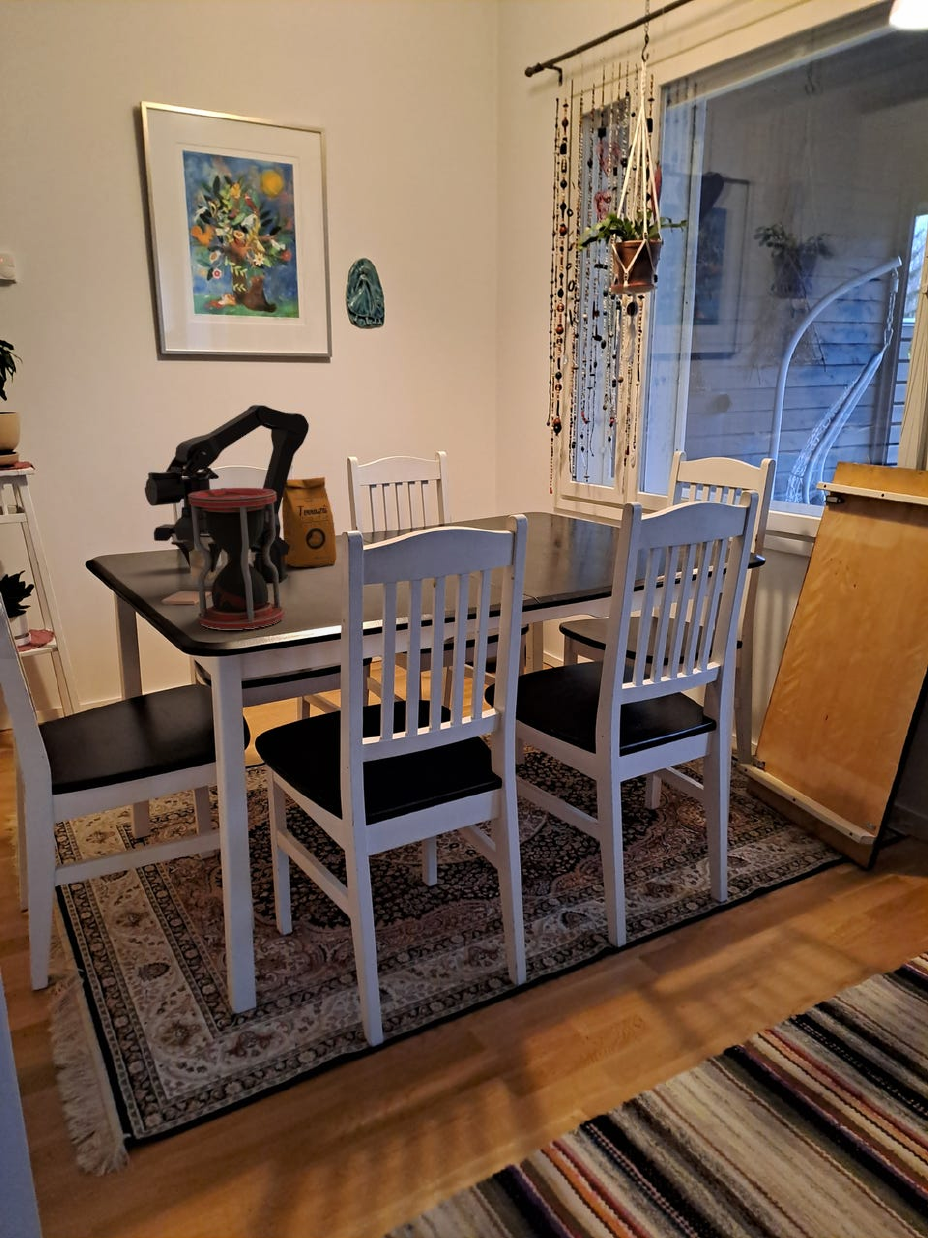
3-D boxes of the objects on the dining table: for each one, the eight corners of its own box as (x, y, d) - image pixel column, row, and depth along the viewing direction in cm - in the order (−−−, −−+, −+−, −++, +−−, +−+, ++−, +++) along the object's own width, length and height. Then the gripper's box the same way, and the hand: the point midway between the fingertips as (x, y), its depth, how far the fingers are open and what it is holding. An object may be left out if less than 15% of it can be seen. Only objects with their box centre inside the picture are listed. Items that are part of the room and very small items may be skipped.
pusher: (215, 575, 191) (213, 548, 189) (209, 579, 187) (206, 552, 185) (198, 575, 191) (196, 548, 189) (191, 579, 187) (188, 552, 185)
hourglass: (270, 605, 178) (263, 485, 171) (294, 624, 164) (287, 494, 158) (191, 615, 171) (180, 490, 164) (209, 636, 157) (197, 500, 150)
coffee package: (340, 566, 215) (336, 478, 210) (292, 571, 210) (286, 481, 204) (328, 559, 224) (324, 474, 218) (281, 563, 219) (276, 477, 213)
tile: (210, 591, 187) (194, 601, 179) (210, 599, 188) (194, 608, 179) (179, 591, 188) (161, 600, 179) (180, 598, 188) (162, 608, 180)
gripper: (138, 505, 177) (146, 579, 182) (225, 507, 176) (231, 581, 180) (161, 498, 188) (168, 568, 192) (244, 499, 186) (249, 569, 191)
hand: (203, 571), depth 188 cm, fingers closed on pusher, 4 cm apart
